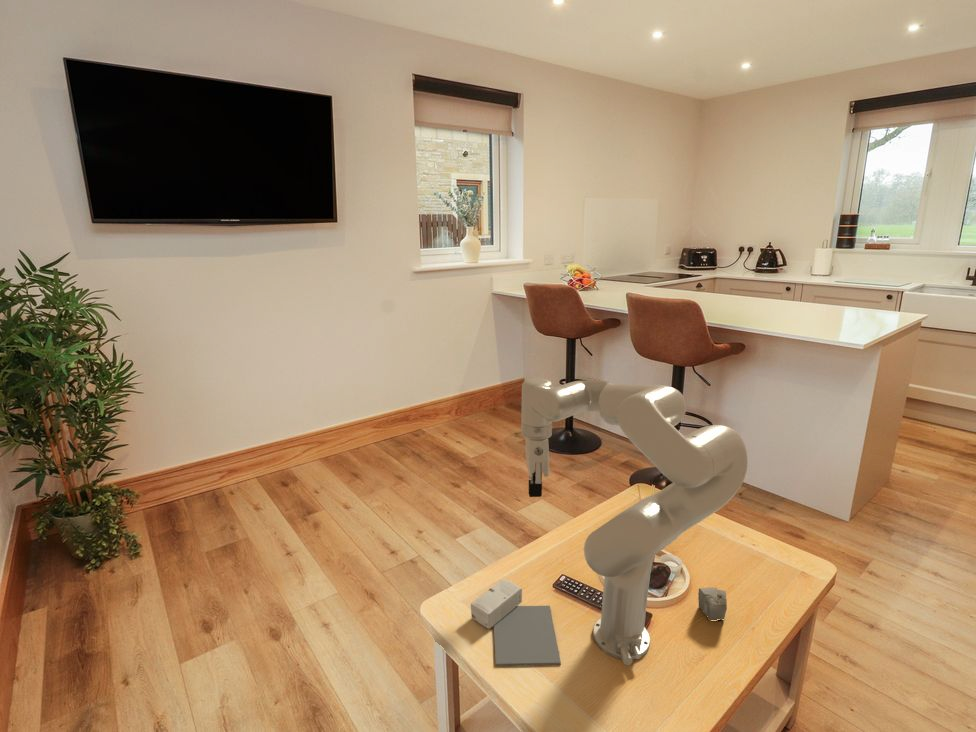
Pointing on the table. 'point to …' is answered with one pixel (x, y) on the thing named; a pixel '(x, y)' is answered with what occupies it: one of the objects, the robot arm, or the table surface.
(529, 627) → the mat
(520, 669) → the table surface
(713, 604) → the mineral specimen
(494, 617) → the skincare box
